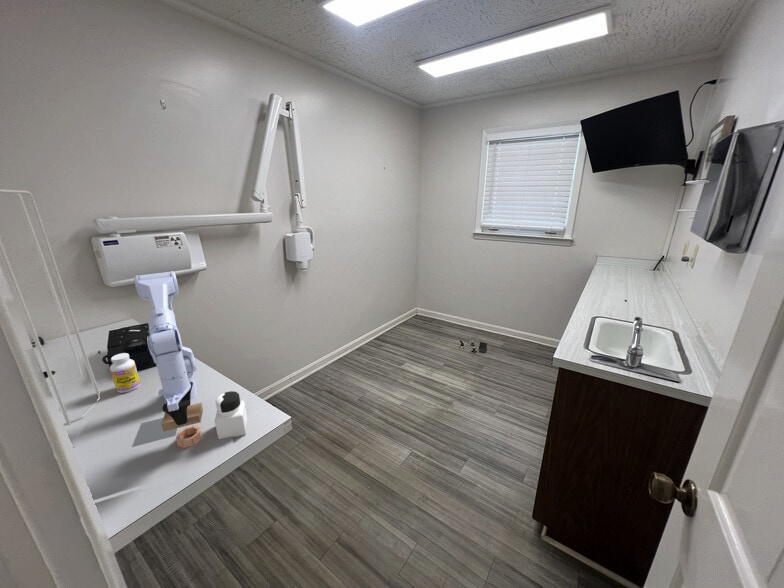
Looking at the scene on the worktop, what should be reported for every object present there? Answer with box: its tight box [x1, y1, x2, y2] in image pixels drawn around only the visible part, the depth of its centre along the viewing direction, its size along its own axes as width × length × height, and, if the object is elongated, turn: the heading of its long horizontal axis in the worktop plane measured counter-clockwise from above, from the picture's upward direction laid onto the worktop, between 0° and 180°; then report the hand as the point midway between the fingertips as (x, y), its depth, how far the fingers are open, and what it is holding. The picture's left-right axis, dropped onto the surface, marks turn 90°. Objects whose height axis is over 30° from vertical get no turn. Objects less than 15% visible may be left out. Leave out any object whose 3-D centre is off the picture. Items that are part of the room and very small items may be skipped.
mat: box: [131, 417, 178, 448], centre depth 91 cm, size 10×10×1 cm
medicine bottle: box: [214, 390, 248, 440], centre depth 90 cm, size 7×7×12 cm
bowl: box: [175, 425, 203, 449], centre depth 87 cm, size 6×6×3 cm
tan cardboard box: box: [161, 402, 204, 432], centre depth 84 cm, size 6×8×2 cm, turn 114°
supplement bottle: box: [109, 352, 141, 394], centre depth 108 cm, size 7×7×13 cm
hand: (184, 416), depth 85 cm, fingers closed on tan cardboard box, 6 cm apart
